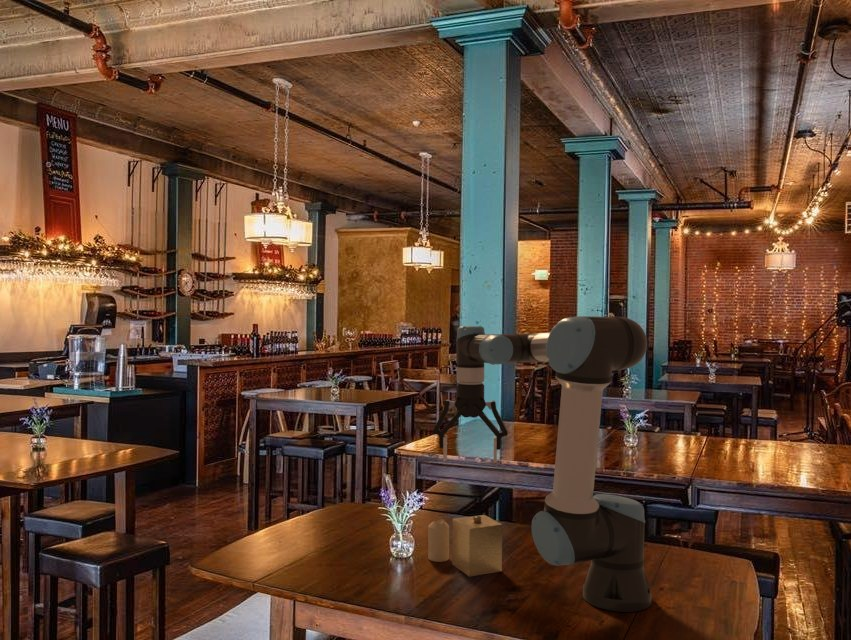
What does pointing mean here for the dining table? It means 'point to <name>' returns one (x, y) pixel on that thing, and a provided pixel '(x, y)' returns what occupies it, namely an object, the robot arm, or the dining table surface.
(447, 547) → the candle
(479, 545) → the tan box with knob
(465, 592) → the dining table surface
